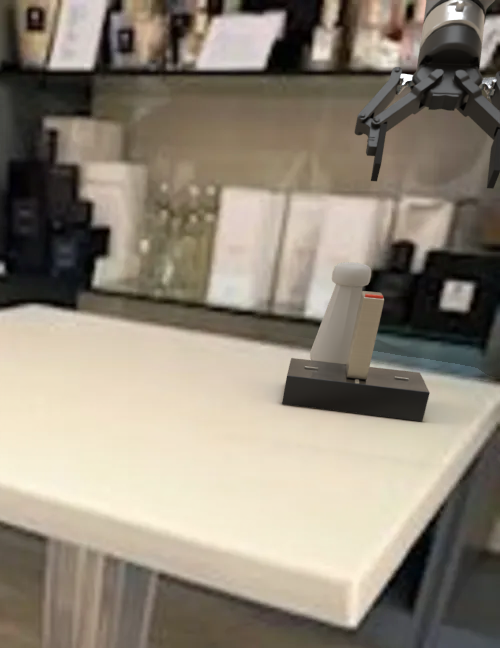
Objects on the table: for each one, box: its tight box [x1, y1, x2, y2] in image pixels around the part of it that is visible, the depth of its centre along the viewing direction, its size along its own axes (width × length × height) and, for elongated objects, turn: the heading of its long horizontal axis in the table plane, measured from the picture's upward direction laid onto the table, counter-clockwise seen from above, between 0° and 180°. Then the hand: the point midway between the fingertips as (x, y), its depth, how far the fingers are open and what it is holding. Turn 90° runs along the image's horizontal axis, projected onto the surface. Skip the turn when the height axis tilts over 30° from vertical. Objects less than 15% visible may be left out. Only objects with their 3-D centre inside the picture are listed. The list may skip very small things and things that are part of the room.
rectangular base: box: [281, 357, 431, 422], centre depth 94 cm, size 14×11×3 cm
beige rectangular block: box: [346, 290, 385, 380], centre depth 92 cm, size 6×2×8 cm, turn 163°
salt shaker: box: [309, 261, 372, 364], centre depth 104 cm, size 6×6×13 cm
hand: (433, 176), depth 107 cm, fingers open, 13 cm apart
